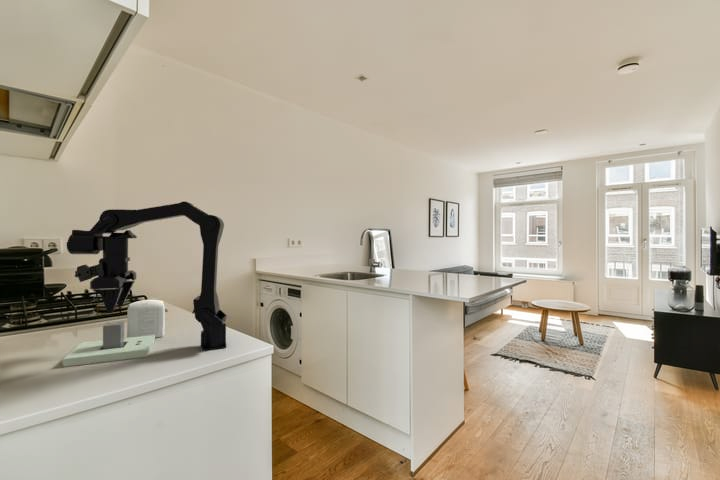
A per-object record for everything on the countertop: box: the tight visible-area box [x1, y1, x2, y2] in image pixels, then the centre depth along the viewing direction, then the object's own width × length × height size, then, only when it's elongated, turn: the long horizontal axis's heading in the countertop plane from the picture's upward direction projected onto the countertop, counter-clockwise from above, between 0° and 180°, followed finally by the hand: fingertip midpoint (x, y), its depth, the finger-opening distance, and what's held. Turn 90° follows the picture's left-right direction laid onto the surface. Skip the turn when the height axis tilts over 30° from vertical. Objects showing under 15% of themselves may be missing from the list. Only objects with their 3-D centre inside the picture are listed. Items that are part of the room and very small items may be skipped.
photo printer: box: [126, 299, 166, 338], centre depth 105 cm, size 10×4×12 cm, turn 123°
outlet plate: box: [62, 335, 156, 368], centre depth 93 cm, size 18×16×2 cm
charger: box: [102, 320, 125, 350], centre depth 92 cm, size 4×4×8 cm
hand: (115, 309), depth 92 cm, fingers open, 9 cm apart
